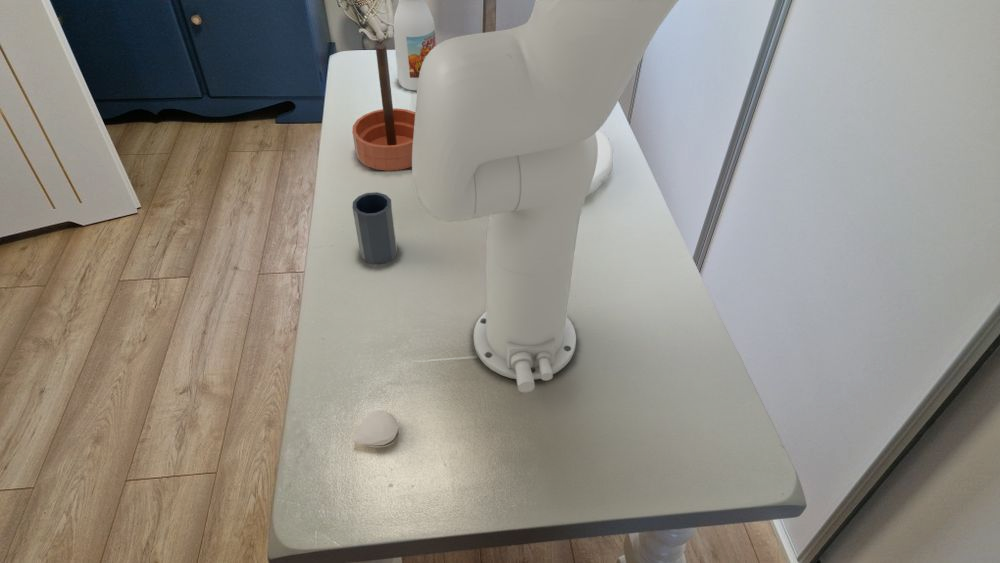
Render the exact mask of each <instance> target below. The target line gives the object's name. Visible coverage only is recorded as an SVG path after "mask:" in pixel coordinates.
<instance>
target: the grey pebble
mask: <svg viewBox="0 0 1000 563" xmlns="http://www.w3.org/2000/svg"><path fill="white" fill-rule="evenodd" d="M399 430H400V429H399V424H398V421H397V418H396V417H395V416H394V415H393V414H392V413H391V412H389V411H387V410H384V409H377V410H374V411H372V412H370V413H369V414H368V415H366V416H365V418H363V420H362V421H361V423H360V424H359V425H358V427H357V429H356V431H355V433H354V436H353V438H352V442H353V443H355V444H358V445H361V446H365V447H370V448H385V447H386V448H387V447H389V446H390V445H392V444H394V443H395V442H396V440H397V439H398V437H399Z"/></svg>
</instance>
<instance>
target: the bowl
mask: <svg viewBox="0 0 1000 563" xmlns="http://www.w3.org/2000/svg"><path fill="white" fill-rule="evenodd" d="M393 114H394V123H395V132H396V142H397V145H387V139H386V131H385V122H384V114H383V108H382V109H377V110H373V111H370V112H368V113H366V114H363V115H362V116H360V117H359V118H358V119H356V121H354V124H353V125H352V131H351V132H352V138H353V144H354V151H355V156H356V158H357V160H358V161H359V162H360V163H362V164H363V165H364V166H366V167H368V168H371V169H374V170H379V171H387V172H388V171H389V172H391V171H394V172H395V171H400V170H405V169H410V168H412V146H413V135H414V123H415V111H413V110H409V109H405V108H395V107H393Z"/></svg>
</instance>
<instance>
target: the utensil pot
mask: <svg viewBox="0 0 1000 563" xmlns="http://www.w3.org/2000/svg"><path fill="white" fill-rule="evenodd" d="M351 208H352V213H353V220H354V225H355V231H356V236H357V242H358V243H357V244H358V248H359V253H360V257H361V259H362V260H363V261H364V262H365V263H367V264H370V265H375V266H376V265H385V264H387V263H390V262H391V261H393V260H394V259H395V257H396V256H397V254H398V246H397V239H396V229H395V221H394V213H393V204H392V199H391V198H390V197H389V196H388V195H387V194H385V193H381V192H377V191H374V192H366V193H363V194H360V195H358V196H357V197H356V198H355V199H354V200H353V201H352V206H351Z"/></svg>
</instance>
